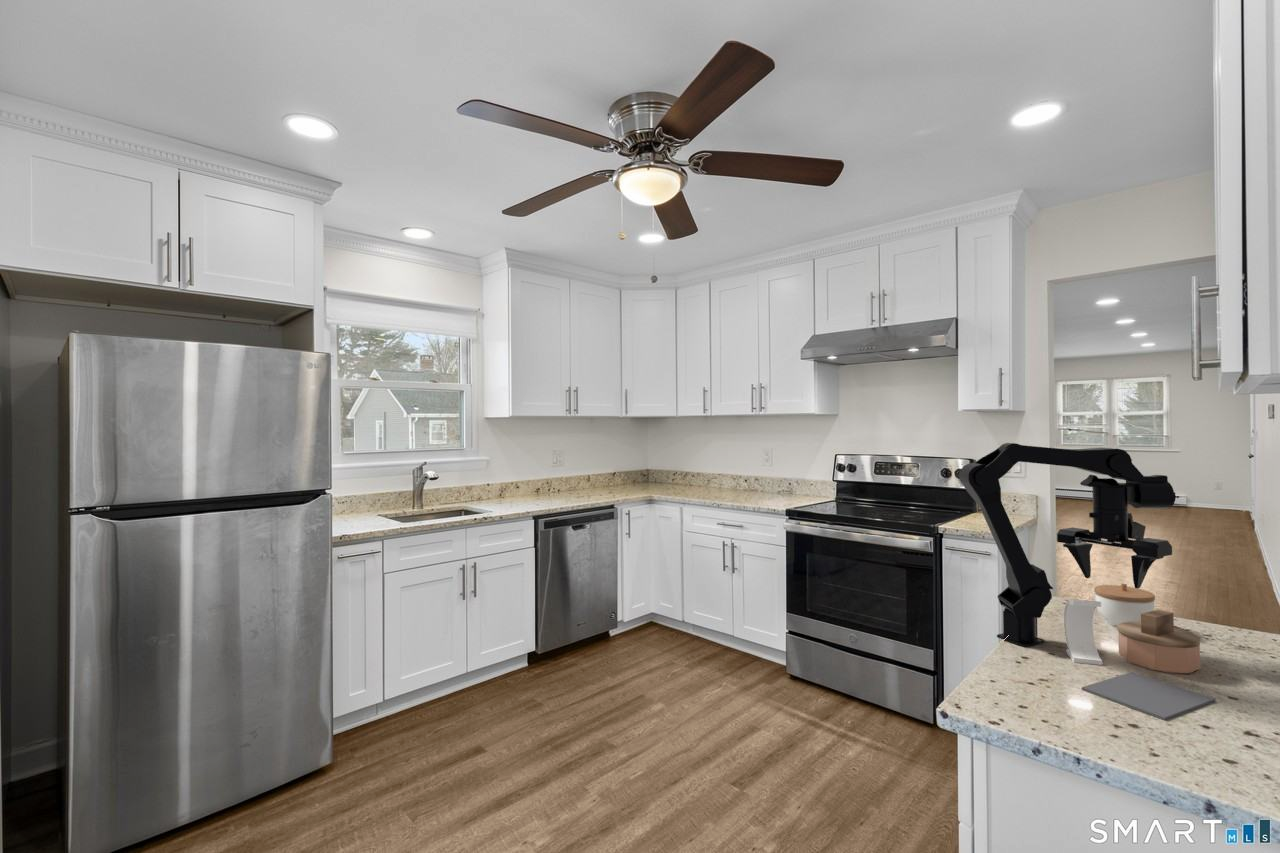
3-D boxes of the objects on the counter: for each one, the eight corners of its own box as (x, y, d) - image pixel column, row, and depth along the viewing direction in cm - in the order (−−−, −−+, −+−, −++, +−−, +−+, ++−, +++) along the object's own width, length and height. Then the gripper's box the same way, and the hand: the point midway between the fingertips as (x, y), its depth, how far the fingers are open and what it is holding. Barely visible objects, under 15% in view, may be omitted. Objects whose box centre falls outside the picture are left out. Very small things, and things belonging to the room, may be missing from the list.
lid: (1178, 652, 107) (1177, 627, 107) (1104, 631, 118) (1103, 609, 118) (1213, 641, 112) (1213, 617, 112) (1139, 622, 123) (1139, 601, 123)
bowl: (1177, 678, 108) (1176, 650, 108) (1109, 657, 118) (1108, 631, 118) (1209, 667, 112) (1209, 640, 112) (1141, 647, 123) (1140, 623, 123)
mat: (1164, 720, 93) (1164, 717, 93) (1081, 689, 104) (1081, 687, 104) (1215, 700, 99) (1215, 698, 99) (1132, 673, 110) (1132, 671, 110)
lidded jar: (1084, 621, 139) (1084, 581, 139) (1111, 614, 143) (1110, 575, 143) (1139, 636, 129) (1138, 593, 129) (1165, 628, 134) (1164, 586, 134)
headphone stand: (1073, 662, 116) (1072, 600, 116) (1064, 651, 122) (1063, 592, 122) (1102, 665, 114) (1101, 602, 114) (1092, 653, 120) (1090, 594, 120)
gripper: (1186, 510, 119) (1188, 588, 119) (1085, 500, 136) (1087, 568, 136) (1154, 515, 115) (1156, 596, 115) (1054, 504, 132) (1055, 574, 132)
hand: (1111, 582), depth 124 cm, fingers open, 9 cm apart
